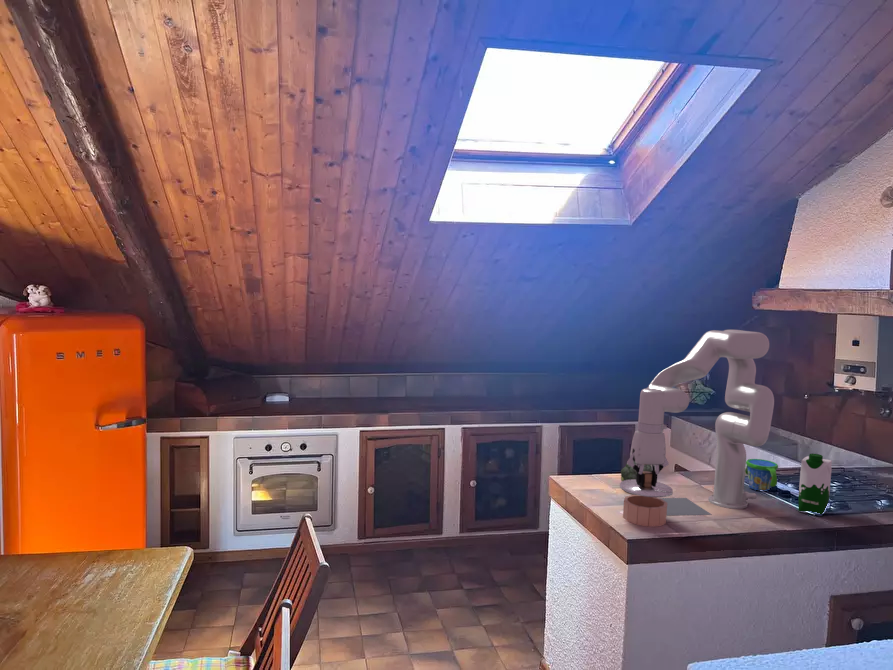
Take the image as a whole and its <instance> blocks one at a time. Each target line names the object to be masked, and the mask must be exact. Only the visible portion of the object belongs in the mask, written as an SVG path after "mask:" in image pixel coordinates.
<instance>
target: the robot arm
mask: <svg viewBox="0 0 893 670" xmlns="http://www.w3.org/2000/svg"><path fill="white" fill-rule="evenodd" d="M769 349H770V340H769V338H768V337H767V335H766V334H764V333H763V332H759V331H751V330H750V331H749V330H742V329H741V330H740V329H724V330H717V329H716V330H715V329H713V330H709V331H706V332H705V333H703V335H702V336H701V337H700V338H699V340H698V341H697V342H696V344H695V345H694V346H693V347H692V349H691V350H690V351H689V352H688V353H687V355H686V356H685V357H684V358H683V359H682V360H680V361H677V362H675V363H674V364H672V365H670V366H668V367H666V368H665V369H663V370H662V371H660V372H658V374H656V376H655V377H654V378H653V379H652V381H651V382H650V383H649V384H648V386H647V387H646V388H643V389H641V391H640V395H639V407H638V421H637V422H638V423H637V430H635V431H634V434H633V437H632V441H631V447H630V453H629V458H628V459H627V462H626V464H628V465H629V466H631V467H633V469H634V470H635V471H636V472H637V477H636V482H637V484H638V485H639V486H640V487H643V483H644V475H643V468H644V465H651V467H652V473H653V479H652V486H653V487H656V483H657V482H658V475H659V474H660V472H661V471H662V470H663V469H665V467H667V466H669V461H668V458H667V457H666V456H667V455H666V454H667V449H666V448H667V443H666V438H665V437H666V436H665V433H664V430H666V429H667V426H668V425H667V424H664V419H665V412H666V413H673V414H675V413H676V414H678V413H682V412H684V411H685V410H686V409H687V408H688V406H689V404H690V398H689V396H688V394H687V393H686V392H685V391H684V390H682V389H679V388H676V385H677V386H678V385H679V384H681V383H686V382H689V381H690V382H691V381H695V380H700V379H702V378H704V377H706V376H707V375H708V374H709V372H710V371H711V370H712V368H713V367H714V366H715V364H716V363H717V362H718V361H719V359H720V358H726V359H727V361H728V375H727V382H726V389H725V393H724V395H725V396H724V402H725V404H726V405H727V406H728V407H729V408H731V409H732V408H733V409H735V410H739V411H742V412H743V411H744V412H749V415H746V414H742V413H739V412H738V413H737V412H732V411H726V412H723V413H721V414H719V415H718V416H717V418H716V419H715V425H714V428H715V436H716V457H715V467H714V469H715V470H714V482H713V485H714V486H713V494H711V495H709V496H708V499H707V501H708V502H709V503H710V504H712V505H714V506H717V507H721V508H726V509H734V510H739V509H746V508H748V503H749V502H748V500H749V499H750V500H754V499H755V500H756V499H757V497H758V496H757V494H756V493H755V492H754V493H753V492H751V493H750V492H749V491H745V478H746V472H745V470H746V466H747V464H746V461H747V451H746V448H745V445H746V446H751V447H755V448H756V447H757V448H759V447H761V446H763V445H765V444H766V442H768V441H767V440H768V439H769V437H770V436H769V435H770V430H771V426H772V421H773V420H772V419H773V414H774V407H775V397H774V394H773V393H774V392H773V391H772V390H771V388H769V387H768V386H766V385H762V384H757V383H755V382H756V374H757V367H756V363H755V360H754V359H760V358H763V357H765V355H766V354H767V353H768V352H769ZM634 461H635V462H636V463H637V464H636V465H635V464H634V463H633V462H634Z"/></svg>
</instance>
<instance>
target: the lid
mask: <svg viewBox="0 0 893 670" xmlns="http://www.w3.org/2000/svg"><path fill="white" fill-rule="evenodd" d="M643 475H644V483H643V487H640V486H639V485H638V484H637V482H636V479H631V480H625V481H620V483H619V487H620V489H621V490H622V491H624V492H626V493H629V494H630V495H639V496H645V497H656V498H668V497H669V496H672V494H673V491H674V489H673V488H672V487H671V486H669V485H667V484H666V483H661V482H659V481H657V483H656V487H653V486H652V479H653V473H652V472H648V471H643Z"/></svg>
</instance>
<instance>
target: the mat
mask: <svg viewBox="0 0 893 670" xmlns="http://www.w3.org/2000/svg"><path fill="white" fill-rule="evenodd" d="M659 498H660V499H663V500H664V501H665V502H667V517H668V516H669V517H671V516H712V514H711V513H710V512H708V510H706V509H704V508H702V507H701V506H699V505H698V504H697V503H695V502H694V501H692V500H690V499H689V498H687V497H659Z"/></svg>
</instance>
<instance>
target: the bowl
mask: <svg viewBox="0 0 893 670" xmlns="http://www.w3.org/2000/svg"><path fill="white" fill-rule="evenodd" d="M660 498H661V497H645V496H639V495H635V494H630V495H627V496H625V497H624V499H623V509H622V510H623V511H622V512H623V513H622V518H623V519H624V520H625V521H627V522H628V523H631V524H633V525H638V526H643V527H661V526H664V525H666V523H667V518H668V516H667V502H665V501H664V500H663V499H660Z"/></svg>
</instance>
